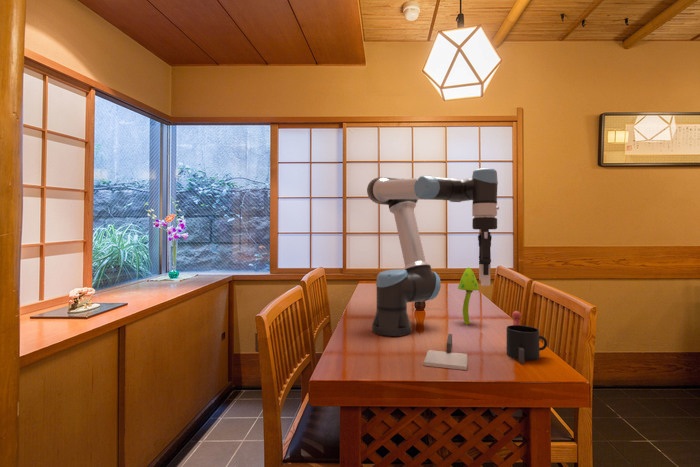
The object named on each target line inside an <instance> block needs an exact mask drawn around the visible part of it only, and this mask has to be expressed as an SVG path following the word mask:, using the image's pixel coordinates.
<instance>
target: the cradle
mask: <svg viewBox="0 0 700 467" xmlns="http://www.w3.org/2000/svg"><path fill="white" fill-rule="evenodd" d="M511 316H512V320H513V325H521V318H522V314H521V312H520V311H518V310H514V311H513V312H512V314H511ZM452 347H453V333H448V335H447V340H446V352H447V353H451V352H452ZM517 361H518V362H519V364H524V365H525V361H524V349H523V347H518V360H517Z"/></svg>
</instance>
